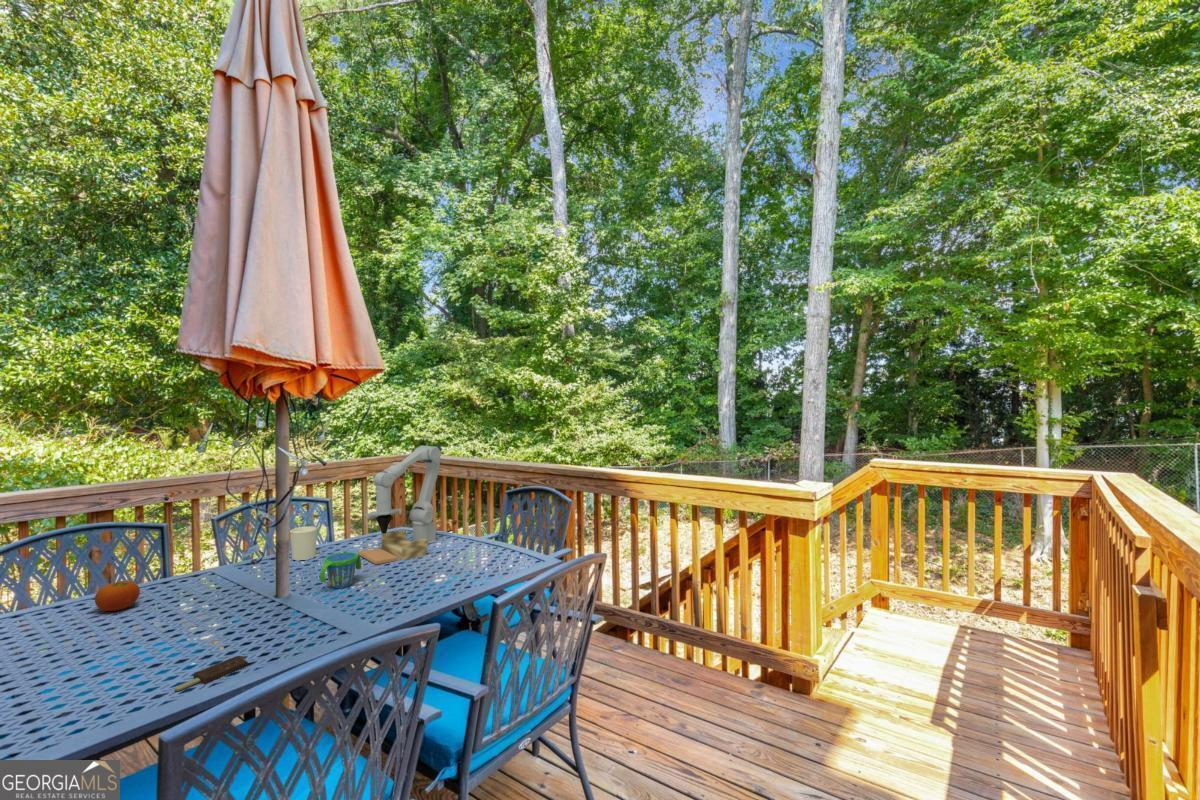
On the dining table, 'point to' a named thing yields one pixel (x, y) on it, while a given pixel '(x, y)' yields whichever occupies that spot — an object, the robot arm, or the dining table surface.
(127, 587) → the fruit
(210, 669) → the ice cream bar
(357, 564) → the snack cup
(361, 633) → the dining table surface
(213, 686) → the dining table surface
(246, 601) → the dining table surface
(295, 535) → the candle holder
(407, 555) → the cart bed
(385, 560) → the tailgate
